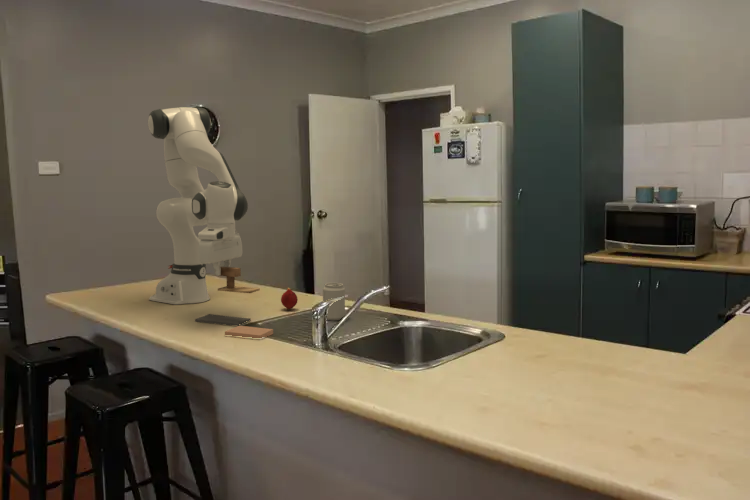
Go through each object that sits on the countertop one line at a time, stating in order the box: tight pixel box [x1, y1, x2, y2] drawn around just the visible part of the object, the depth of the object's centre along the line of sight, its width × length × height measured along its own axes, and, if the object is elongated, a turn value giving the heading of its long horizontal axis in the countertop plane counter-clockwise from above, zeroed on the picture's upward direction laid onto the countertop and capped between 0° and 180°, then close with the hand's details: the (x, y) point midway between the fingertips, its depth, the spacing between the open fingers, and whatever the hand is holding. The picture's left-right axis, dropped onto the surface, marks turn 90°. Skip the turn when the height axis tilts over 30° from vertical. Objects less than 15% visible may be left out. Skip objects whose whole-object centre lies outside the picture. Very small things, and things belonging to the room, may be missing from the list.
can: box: [322, 282, 346, 321], centre depth 218 cm, size 8×8×12 cm
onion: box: [280, 287, 298, 310], centre depth 231 cm, size 6×6×8 cm
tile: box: [224, 325, 274, 338], centre depth 196 cm, size 2×8×12 cm
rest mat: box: [194, 313, 251, 326], centre depth 213 cm, size 16×8×1 cm, turn 70°
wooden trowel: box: [216, 265, 260, 294], centre depth 210 cm, size 14×6×7 cm, turn 70°
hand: (222, 274), depth 211 cm, fingers closed on wooden trowel, 3 cm apart
